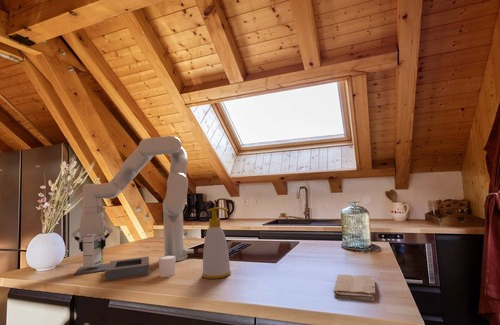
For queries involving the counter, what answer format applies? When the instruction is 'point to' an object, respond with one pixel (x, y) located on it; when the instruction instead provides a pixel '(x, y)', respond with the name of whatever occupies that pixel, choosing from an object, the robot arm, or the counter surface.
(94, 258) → the syrup box
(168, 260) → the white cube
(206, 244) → the soap bottle
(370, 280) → the washcloth
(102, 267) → the rubber mat
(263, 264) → the counter surface
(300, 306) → the counter surface
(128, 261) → the socket block
